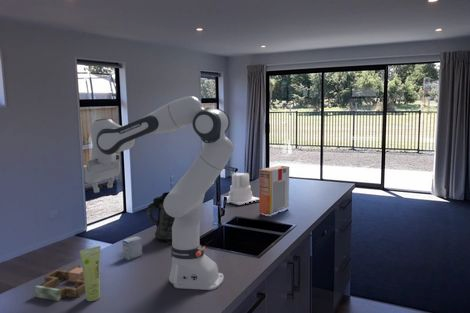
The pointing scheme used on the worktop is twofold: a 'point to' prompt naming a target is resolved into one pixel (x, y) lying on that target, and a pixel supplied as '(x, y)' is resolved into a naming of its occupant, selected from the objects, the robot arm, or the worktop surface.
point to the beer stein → (161, 220)
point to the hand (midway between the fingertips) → (103, 189)
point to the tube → (91, 272)
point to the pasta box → (274, 189)
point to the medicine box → (132, 247)
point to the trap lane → (54, 279)
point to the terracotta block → (75, 274)
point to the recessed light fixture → (240, 189)
